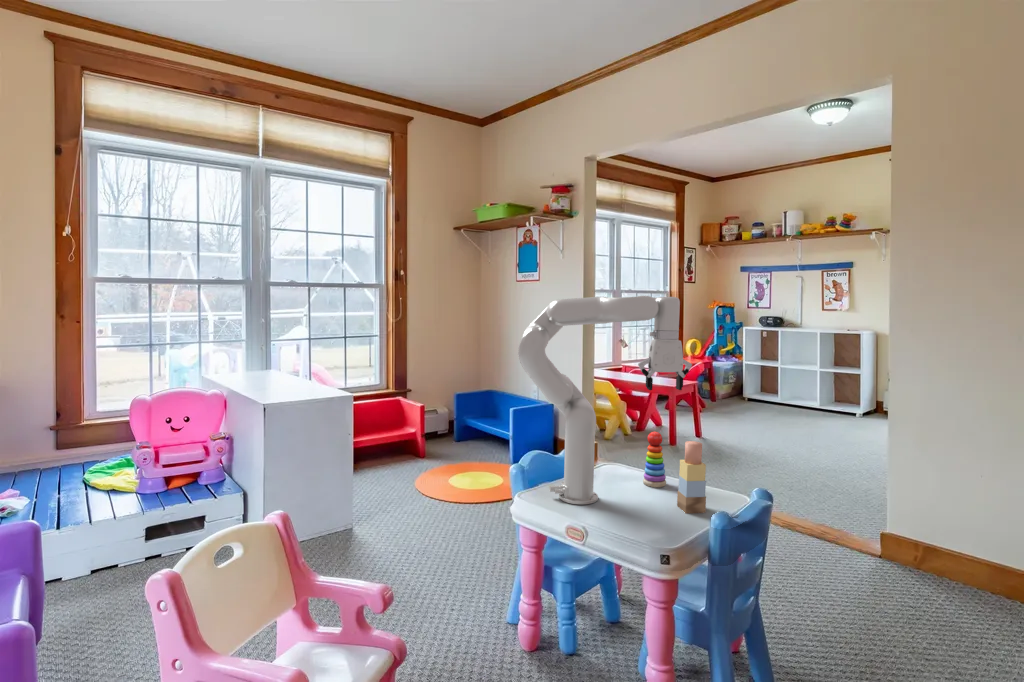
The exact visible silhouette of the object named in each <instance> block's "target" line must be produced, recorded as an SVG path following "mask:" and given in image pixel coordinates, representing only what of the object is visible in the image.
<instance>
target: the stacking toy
mask: <svg viewBox="0 0 1024 682" xmlns="http://www.w3.org/2000/svg"><path fill="white" fill-rule="evenodd" d="M647 442H648V444H649V445H648V446H647V450H648V451H647V452H646V457H645V465H644V466H645V468H644V474H643V480H642V482H643V485H645V486H647V487H649V486H651V487H650V488H663V487H665V486H666V485H667V481H666V478H667V477H666V474H665V473H666V469H665V463H664V457H663V456H664V453H663V446H662V445H661V444H662V443H663V435H662V434H661V433H660V432H659V431H651V432H650V433H649V434H648V435H647Z"/></svg>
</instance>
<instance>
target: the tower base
mask: <svg viewBox="0 0 1024 682" xmlns="http://www.w3.org/2000/svg"><path fill="white" fill-rule="evenodd" d="M676 496H677V500H676V502H677V503H676V507H677V508H679V509H680V510H681V511H682V510H683V511H684V512H685V513H684V512H683V511H682V512H683V513H684V514H706V509H707V507H706V506H707V496H705V497H685V496H684V495H683V494H682V493H681V492H679V490H677V495H676Z"/></svg>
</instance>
